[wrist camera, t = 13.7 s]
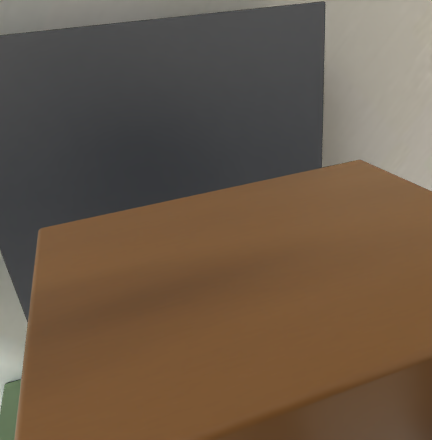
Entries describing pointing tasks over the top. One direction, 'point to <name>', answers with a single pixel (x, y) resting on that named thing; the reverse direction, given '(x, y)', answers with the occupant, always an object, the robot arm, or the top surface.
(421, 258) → the oak box
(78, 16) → the top surface
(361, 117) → the top surface
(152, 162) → the storage box
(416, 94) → the top surface
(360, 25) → the top surface
